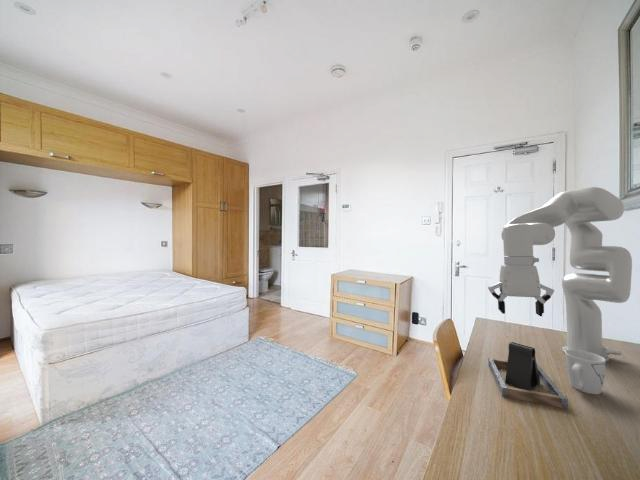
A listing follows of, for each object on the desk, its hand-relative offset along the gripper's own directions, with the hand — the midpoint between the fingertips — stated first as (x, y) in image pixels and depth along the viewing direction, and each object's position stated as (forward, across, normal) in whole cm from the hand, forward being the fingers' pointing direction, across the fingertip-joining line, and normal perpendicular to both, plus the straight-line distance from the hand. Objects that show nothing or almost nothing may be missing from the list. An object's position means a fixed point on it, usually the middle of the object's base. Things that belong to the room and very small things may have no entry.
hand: (520, 313), depth 82 cm
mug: (+21, -14, +1) cm, 26 cm away
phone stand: (+21, +1, +4) cm, 22 cm away
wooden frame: (+21, +1, +4) cm, 21 cm away
